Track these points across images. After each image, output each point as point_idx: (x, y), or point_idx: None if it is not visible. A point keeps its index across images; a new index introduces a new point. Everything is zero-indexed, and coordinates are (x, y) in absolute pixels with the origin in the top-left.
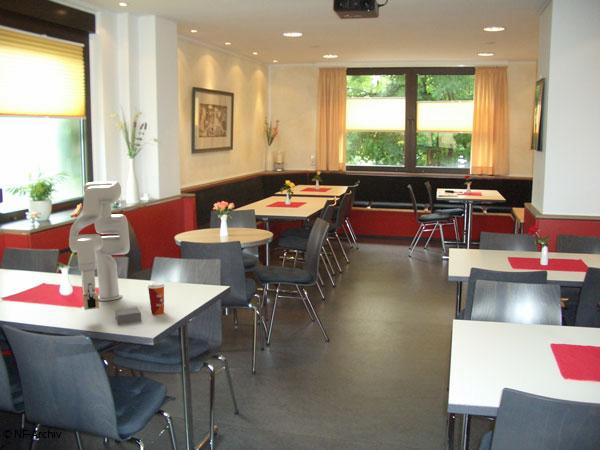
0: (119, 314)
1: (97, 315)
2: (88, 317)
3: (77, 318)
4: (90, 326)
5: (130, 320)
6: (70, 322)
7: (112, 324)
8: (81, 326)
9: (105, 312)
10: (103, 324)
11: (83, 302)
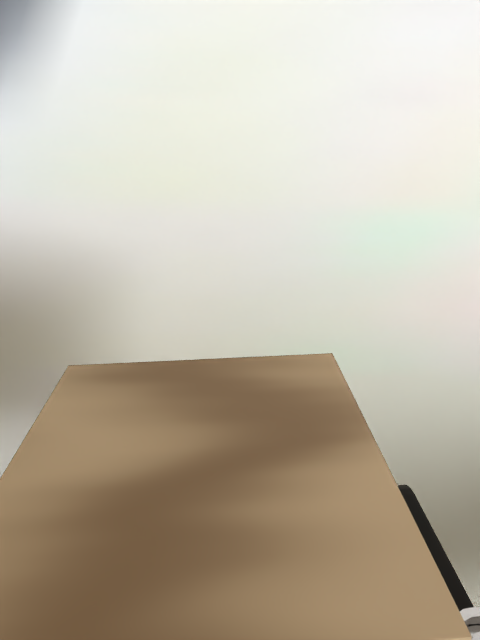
0: None
1: (419, 383)
2: (404, 300)
3: (447, 177)
4: (20, 312)
5: None
6: (314, 73)
7: None
8: (54, 213)
9: (471, 445)
10: None
11: (319, 405)
